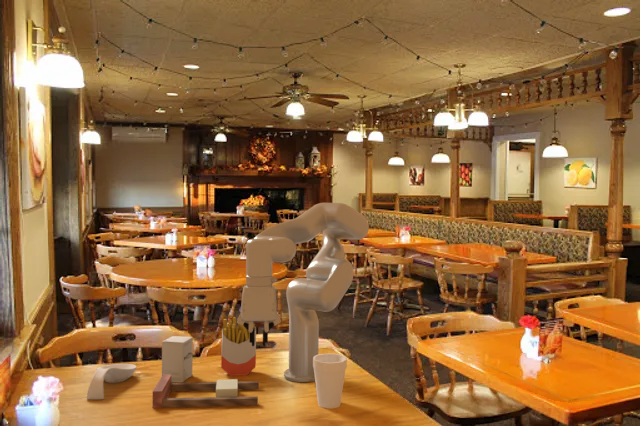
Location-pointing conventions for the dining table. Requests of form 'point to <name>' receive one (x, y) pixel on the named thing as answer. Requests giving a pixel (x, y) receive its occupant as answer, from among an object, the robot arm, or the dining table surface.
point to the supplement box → (177, 358)
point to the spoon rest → (108, 378)
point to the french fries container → (237, 349)
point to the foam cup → (329, 378)
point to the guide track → (166, 386)
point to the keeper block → (227, 388)
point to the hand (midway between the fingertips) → (258, 344)
